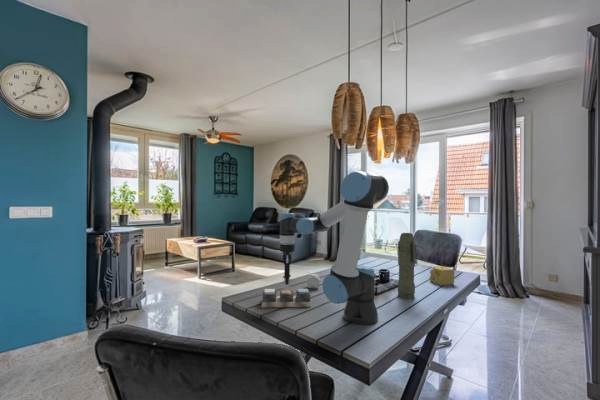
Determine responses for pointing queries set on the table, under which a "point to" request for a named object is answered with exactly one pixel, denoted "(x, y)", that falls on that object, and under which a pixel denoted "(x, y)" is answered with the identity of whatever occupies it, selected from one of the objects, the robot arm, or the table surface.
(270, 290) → the button cream
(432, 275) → the cheese
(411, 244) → the thermos
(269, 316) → the table surface
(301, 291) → the button slate
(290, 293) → the button terracotta
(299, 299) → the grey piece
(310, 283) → the grey rounded lump
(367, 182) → the robot arm
